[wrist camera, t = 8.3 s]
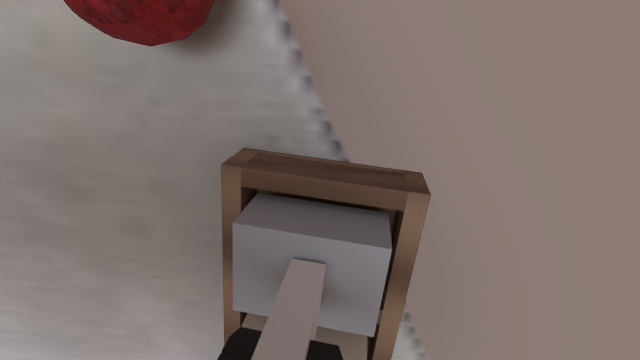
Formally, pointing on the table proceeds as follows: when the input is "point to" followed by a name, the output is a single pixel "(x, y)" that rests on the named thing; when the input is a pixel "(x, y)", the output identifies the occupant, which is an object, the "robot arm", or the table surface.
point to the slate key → (313, 257)
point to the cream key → (323, 337)
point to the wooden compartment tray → (338, 189)
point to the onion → (143, 18)
